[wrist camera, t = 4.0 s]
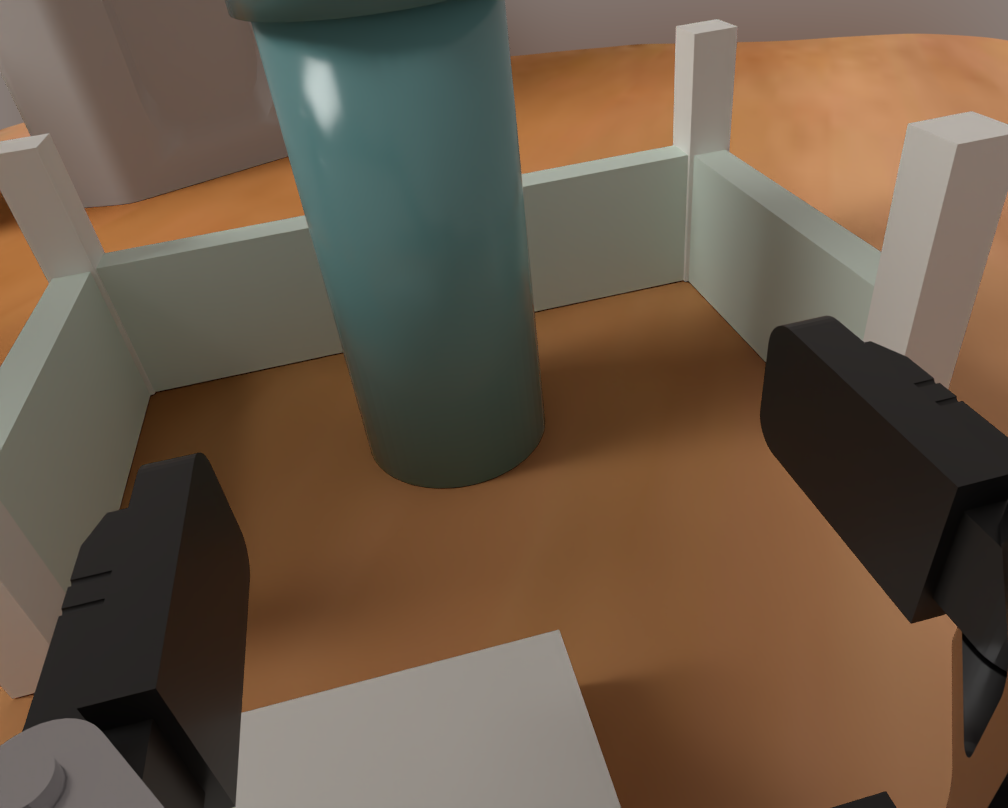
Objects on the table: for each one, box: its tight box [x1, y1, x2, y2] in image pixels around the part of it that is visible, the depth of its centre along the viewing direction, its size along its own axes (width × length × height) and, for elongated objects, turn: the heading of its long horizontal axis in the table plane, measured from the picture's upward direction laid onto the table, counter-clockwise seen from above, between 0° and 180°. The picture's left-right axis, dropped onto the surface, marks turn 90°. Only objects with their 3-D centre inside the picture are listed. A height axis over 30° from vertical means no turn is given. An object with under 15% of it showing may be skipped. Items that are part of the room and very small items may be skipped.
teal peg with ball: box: [225, 0, 545, 488], centre depth 19 cm, size 6×6×18 cm
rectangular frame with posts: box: [0, 19, 1008, 699], centre depth 22 cm, size 14×24×9 cm, turn 103°
